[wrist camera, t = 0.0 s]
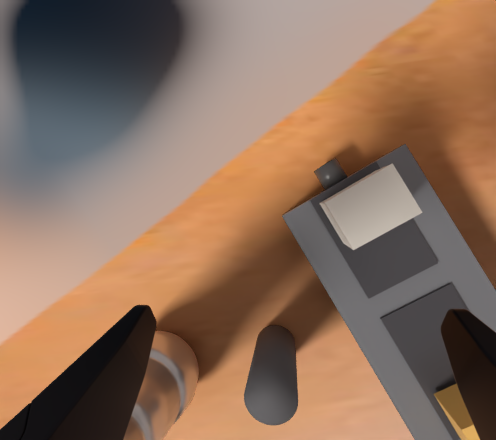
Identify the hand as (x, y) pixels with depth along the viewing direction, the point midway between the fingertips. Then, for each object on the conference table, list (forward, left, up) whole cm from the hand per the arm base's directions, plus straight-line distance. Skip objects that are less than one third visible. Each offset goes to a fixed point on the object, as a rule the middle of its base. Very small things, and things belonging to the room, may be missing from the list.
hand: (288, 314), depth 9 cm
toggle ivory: (+1, -5, -10) cm, 12 cm away
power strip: (-8, -5, -15) cm, 18 cm away
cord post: (-6, +5, -15) cm, 17 cm away
